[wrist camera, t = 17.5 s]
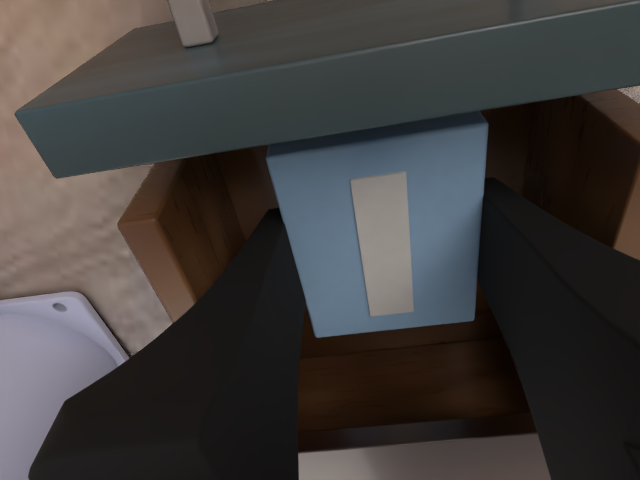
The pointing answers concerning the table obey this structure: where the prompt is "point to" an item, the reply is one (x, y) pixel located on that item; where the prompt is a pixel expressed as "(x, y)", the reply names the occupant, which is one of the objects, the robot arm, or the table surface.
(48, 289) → the table surface
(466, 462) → the cabinet
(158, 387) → the robot arm
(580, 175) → the drawer
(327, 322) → the tissue pack
